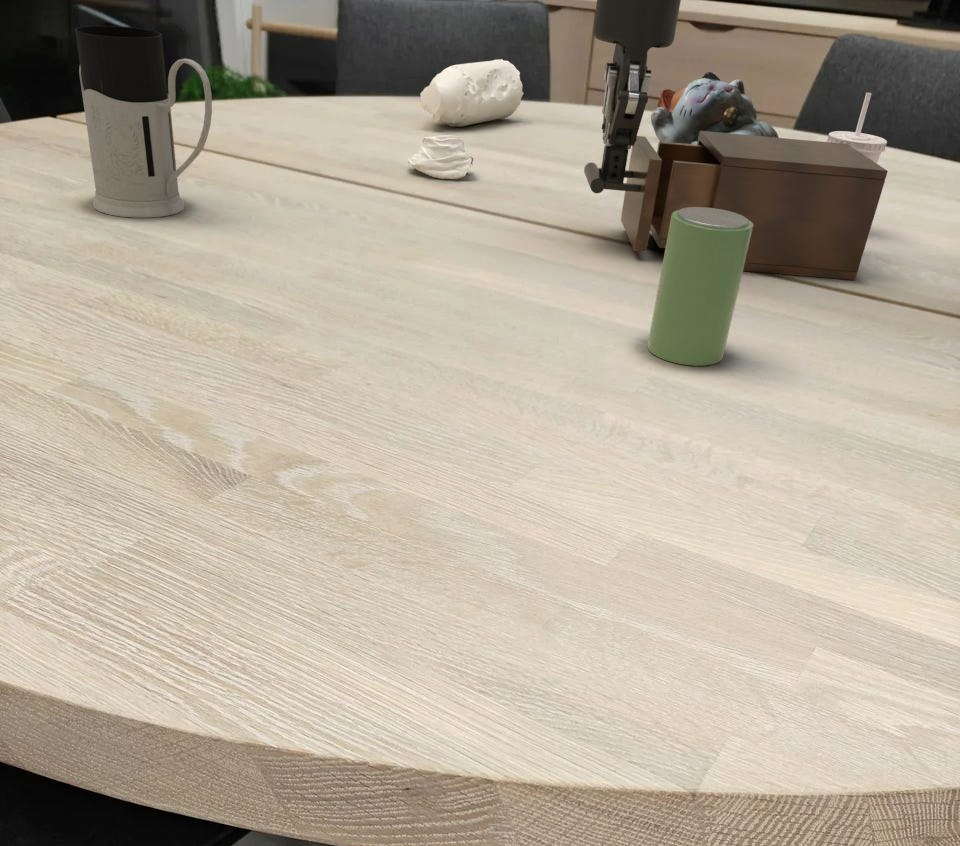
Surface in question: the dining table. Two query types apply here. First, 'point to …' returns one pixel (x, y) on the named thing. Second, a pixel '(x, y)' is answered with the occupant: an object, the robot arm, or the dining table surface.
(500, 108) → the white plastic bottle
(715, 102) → the lucky cat figurine
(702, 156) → the drawer
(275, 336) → the dining table surface
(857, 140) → the smoothie
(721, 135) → the cabinet
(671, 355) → the can
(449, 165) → the whipped cream
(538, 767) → the dining table surface
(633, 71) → the robot arm
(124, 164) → the glass holder
